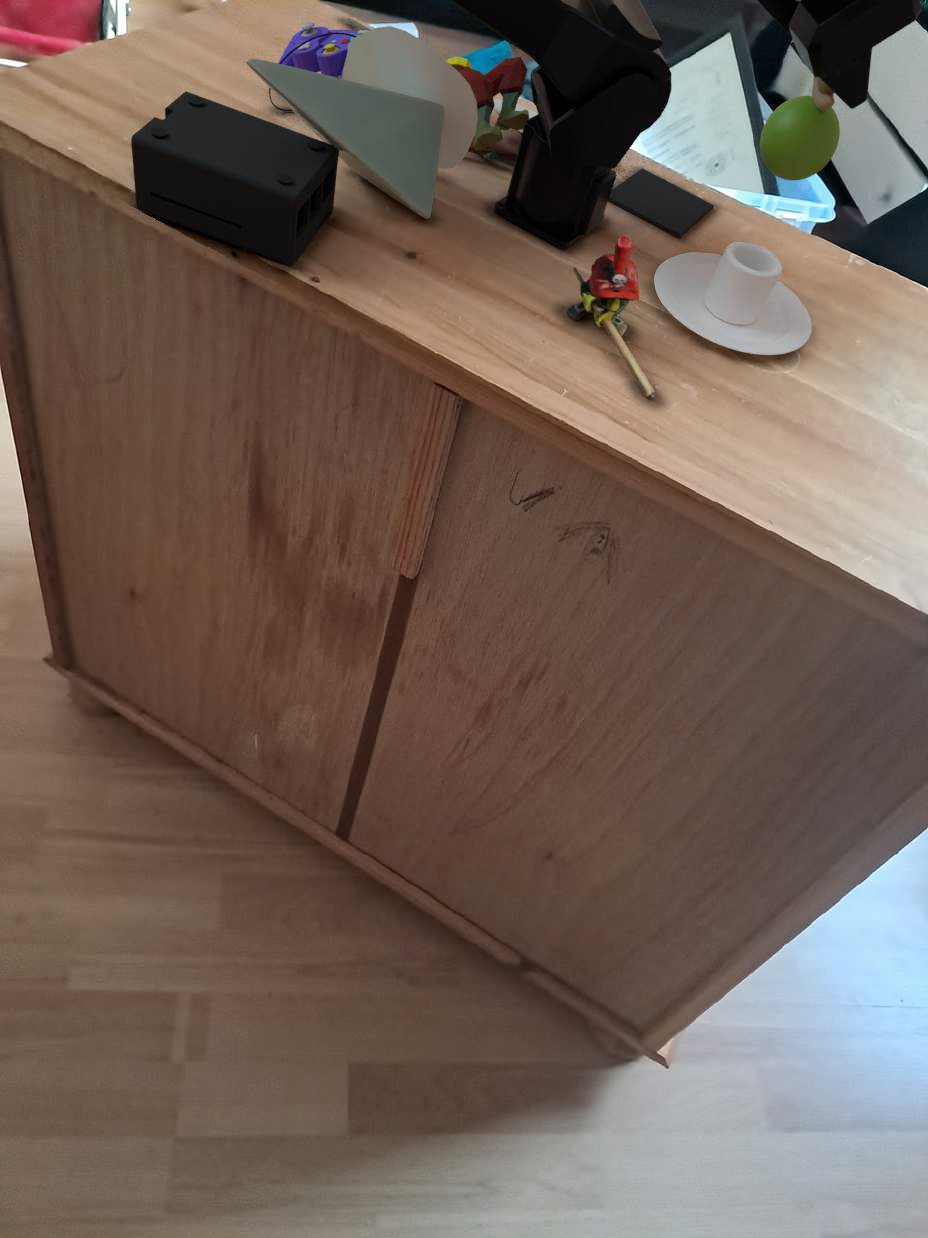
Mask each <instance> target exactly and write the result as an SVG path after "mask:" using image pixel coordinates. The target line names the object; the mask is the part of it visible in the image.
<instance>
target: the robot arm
mask: <svg viewBox="0 0 928 1238" xmlns="http://www.w3.org/2000/svg"><path fill="white" fill-rule="evenodd" d="M448 1H449V2H451V3H452V4H453V5H454V6H456V7H458V8H459V9H461V10H462V11H463V12H465V13H467V14H468V15H469V16H471V17H472V18H474V19H476V20H477V21H478V22H480V23H481V24H482V25H484V26H485V27H486V28H488V29H490V30H491V31H493V32H494V33H495V34H497V35H499V36H500V37H502V38H503V39H504V40H505V41H507V42H509V43H510V44H512V45H513V46H514V47H516V48H518V49H519V50H520V51H521V52H523V53H525V55H527V56H528V57H530V58H531V59H532V60H533V61H534V62H535V63H536V64H537V66H536V67H534V69H532V70H531V71H530V74H529V75H530V86H531V87H530V89H531V100H532V103H533V105H535V108H536V112H537V113H538V114H537V115H536V116H534V117H532V118H530V119H528V120H526V121H525V124H524V128H523V132H522V134H521V136H520V141H519V145H518V148H517V153H516V154H517V157H516V159H515V161H514V164H513V165H514V166H513V169H512V174H511V178H510V182H509V186H508V190H507V194H506V196H504V197H503V198H501V199H499V200H498V201H496V202H495V203H494V206H493V210H494V212H495V213H497V214H499V215H500V216H502V217H503V218H505V219H507V220H509V221H511V222H513V223H515V224H516V225H518V226H520V227H522V228H524V229H526V230H528V231H530V232H531V233H533V234H535V235H537V236H538V237H540V238H542V239H544V240H546V241H548V242H549V243H551V244H553V245H555V246H557V247H559V248H562V249H568V248H569V247H570V246H571V245H573V244H574V243H576V242H577V241H578V240H579V239H581V238H582V237H584V236H587V235H588V234H589V233H590V232H592V231H593V230H595V229H596V228H598V227H599V226H600V225H601V223H602V222H603V220H604V218H605V211H606V208H607V205H608V202H609V201H608V200H609V197H610V194H611V191H612V189H614V188H613V187H614V185H615V182H616V179H617V171H616V170H614V169H616V168H617V166H618V165H619V164H620V162H621V161H622V159H624V157H625V155H626V154H627V153H628V152H629V150H630V148H631V147H632V146H633V144H634V143H635V142H636V140H637V139H638V137H639V136H640V134H641V133H643V132H646V131H647V130H648V129H649V128H651V126H652V127H653V125H654V124H655V123H656V122H657V121H658V120H659V119H660V118H661V116H662V115H663V113H664V111H665V110H666V107H667V106H668V104H669V100H670V96H671V93H672V72H671V71H672V70H671V69H670V67H669V64H668V62H667V60H666V59H665V57H664V55H663V54H662V51H661V50H660V48H661V47H662V46H663V40H662V39H661V37H660V34H659V33H658V31H657V29H656V28H655V25H654V24H653V22H652V20H651V19H650V17H649V15H648V13H647V11H646V9H645V7H644V5H643V4H642V2H641V0H448ZM756 1H757V2H758V3H759V4H760V5H761V7H762V8H763V9H764V10H765V11H766V12H767V13H768V14H769V15H770V17H772V19H773V20H774V21H775V22H777V24H778V25H779V26H780V27H781V28H782V29H783V31H785V33H787V34H788V35H789V37H791V39H792V41H791V42H790V43H789V46H790V47H791V49H792V51H794V53H795V54H796V56H797V57H798V58H799V60H800V61H801V62H802V63H803V65H804V66H805V67H806V68H807V69H808V70H809V71H810V73H811V74H812V76H813V78H814V77H819V78H820V79H821V80H822V81H823V82H824V83H825V84H826V85H827V86H828V87H829V88H830V89H831V90H832V91H833V92H834V95H836V96H837V97H838V98H839V99H840V100H841V101H842V102H843V103H844V105H846V106H847V107H848V108H849V109H850V110H854V109H856V108H858V107H859V106H860V105H862V104H863V103H866V101H867V100H868V96H869V95H868V94H869V82H870V73H871V64H872V54H873V48H874V47H876V46H878V45H879V44H881V43H882V42H884V41H885V40H886V39H889V38H890V37H892V36H893V35H895V34H896V33H898V32H900V31H901V30H903V29H905V28H906V27H908V26H909V25H910V24H912V23H914V22H916V20H917V19H918V17H919V15H920V14H921V12H922V10H923V9H922V3H921V0H756Z"/></svg>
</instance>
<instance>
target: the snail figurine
mask: <svg viewBox="0 0 928 1238" xmlns="http://www.w3.org/2000/svg"><path fill="white" fill-rule="evenodd" d="M834 95H835V93H834V92H833V91H832V90H831V89H830V88H829V87H828V86H827V85H826V84H825V83H824V82H823V81H822V80H821V79H820V78H819V77H814V76H813V80H812V90H811V95H798V96H795V97H792V98H790V99H788V100H785V101H784V102H782V103H781V104H779V106H777V107H776V108H775V109H774V110H773V111H772V112H771V114H770V115H769V116H768V117H767V119H766V121H765V123H764V125H763V127H762V131H761V134H760V137H759V138H760V139H759V151H760V157H761V159H762V162H763V164H764V165H765V167H766V168H767V170H768V171H769V172H770V173H771V174H772V175H773V176H776V177H777V178H779V179H781V180H785V181H801V180H802V181H803V180H805V179H808V178H811V177H812V176H814V175H816V174H818V173H820V171H821V170H823V169H824V168H825V167H826V166H827V165H828V163H829V162H830V161H831V159H832V158H833V156H834V154H835V153H836V150H837V148H838V146H839V141H840V134H841V128H840V127H841V126H840V122H839V118H838V114H837V113H836V111H835V110H834V108H833V106H834V105H835V98H834V97H835V96H834Z"/></svg>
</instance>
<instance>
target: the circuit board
mask: <svg viewBox="0 0 928 1238" xmlns="http://www.w3.org/2000/svg"><path fill="white" fill-rule="evenodd" d="M493 100H494V104H495V106H494V108H493V111H494V112H495V113H496V114H497V115H498V116H499V114H500V112H501V109H502V101H503V98H493ZM523 110H528V113H529V119H530V118H532V117H534V116H536V115H537V114H538V112H537V111H535V110H532V109H531V108H528V107H526V106H525V105H522V104H519V103H517V105H516V108H515V111H523ZM517 132H519V133H520V134H521V135H522V132H523V129H521V130H517Z"/></svg>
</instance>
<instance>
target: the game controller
mask: <svg viewBox="0 0 928 1238" xmlns="http://www.w3.org/2000/svg"><path fill="white" fill-rule="evenodd" d="M315 24H316V23H314V22H313V21H306V22H304V23H302V24H301V27H300V29H301V30H300V31H298V32H296V33H295V34H294V35H292V37H291V40H290V41H289V42H288V44H287V46H286V47H285V49H284V51H283V53H282V54H281V56H280V58H279V60H278V62H277V63H278V64H282V65H286V66H291V67H295V68H299V69H303V70H307V71H312V72H316V73H319V72H320V74H324V75H328V76H332V77H336V78H340V79H342V75H343V69H344V64H345V60H346V57H347V52H348V44H349V43H350V42H351V41H352V40H353V38H355V37H357V36H359V35H361V34H363V33H365V32H367V31H368V30H361V29H360V30H354V29H353V30H352V29H329V28H328V27H326V26H315ZM271 90H272V89H271V88H270V87H269V86H268V97H269V100H270V103H271V104H272V106H273V107H274V108H275V109H276V110H279V111H281V112H293V111H292V110H291V109H286V108H285V109H284V108H280V107H278V106H277V105H275V103H274V102H273V100H272V96H271V95H272V94H271Z"/></svg>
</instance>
